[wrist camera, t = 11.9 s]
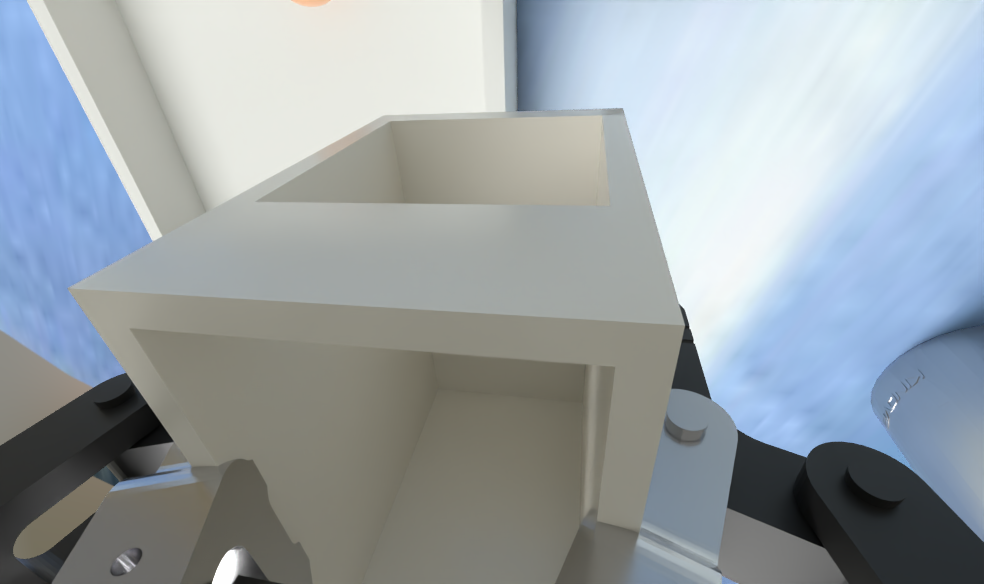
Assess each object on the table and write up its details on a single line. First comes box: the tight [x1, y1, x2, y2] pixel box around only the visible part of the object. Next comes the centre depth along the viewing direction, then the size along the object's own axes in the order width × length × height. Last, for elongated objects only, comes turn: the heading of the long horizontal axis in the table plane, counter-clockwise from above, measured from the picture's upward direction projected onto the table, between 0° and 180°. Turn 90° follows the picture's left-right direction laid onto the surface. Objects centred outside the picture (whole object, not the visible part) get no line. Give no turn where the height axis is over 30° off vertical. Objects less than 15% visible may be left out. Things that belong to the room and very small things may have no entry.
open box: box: [68, 108, 685, 584], centre depth 8 cm, size 5×8×7 cm, turn 4°
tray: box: [27, 0, 518, 241], centre depth 21 cm, size 20×20×4 cm
